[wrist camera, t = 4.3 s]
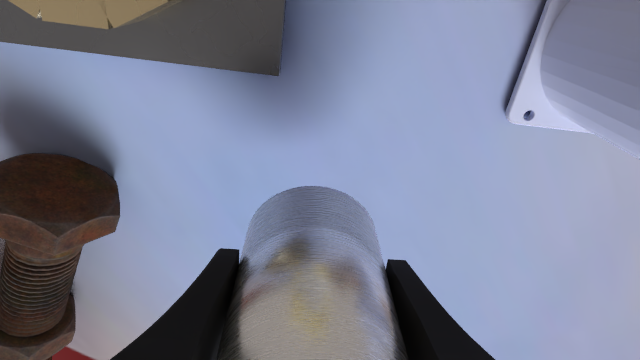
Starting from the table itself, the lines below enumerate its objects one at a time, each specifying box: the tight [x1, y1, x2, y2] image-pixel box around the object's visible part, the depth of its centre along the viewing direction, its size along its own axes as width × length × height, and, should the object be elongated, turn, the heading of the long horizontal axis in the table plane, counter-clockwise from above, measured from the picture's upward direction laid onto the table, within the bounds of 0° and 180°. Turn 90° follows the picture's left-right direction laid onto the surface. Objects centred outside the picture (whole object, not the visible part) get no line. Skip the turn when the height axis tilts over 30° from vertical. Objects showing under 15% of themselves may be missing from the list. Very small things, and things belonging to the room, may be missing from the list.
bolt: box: [0, 153, 120, 360], centre depth 21 cm, size 6×5×15 cm
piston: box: [216, 186, 408, 360], centre depth 12 cm, size 5×5×7 cm
